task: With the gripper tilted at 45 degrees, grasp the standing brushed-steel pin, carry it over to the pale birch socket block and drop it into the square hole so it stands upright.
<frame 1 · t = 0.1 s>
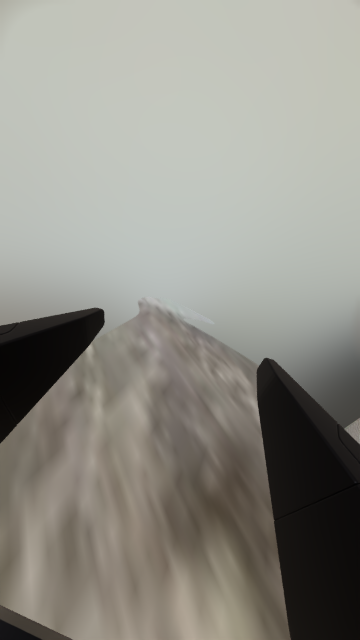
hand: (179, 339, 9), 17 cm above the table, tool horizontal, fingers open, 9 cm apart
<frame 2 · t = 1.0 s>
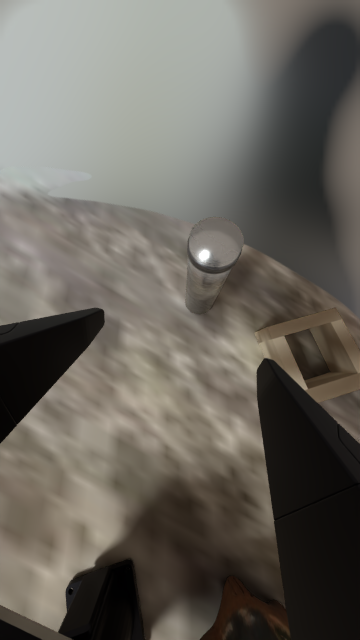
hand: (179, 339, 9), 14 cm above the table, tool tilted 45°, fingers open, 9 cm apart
decorative turtle: (251, 628, 16), on the table
socket block: (299, 355, 22), on the table
steel pin: (198, 301, 24), on the table
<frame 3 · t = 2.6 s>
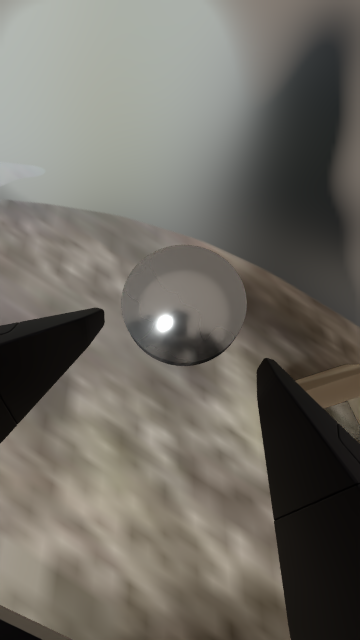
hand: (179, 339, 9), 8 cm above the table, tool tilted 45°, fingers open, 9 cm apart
socket block: (326, 427, 15), on the table
steel pin: (182, 344, 17), on the table
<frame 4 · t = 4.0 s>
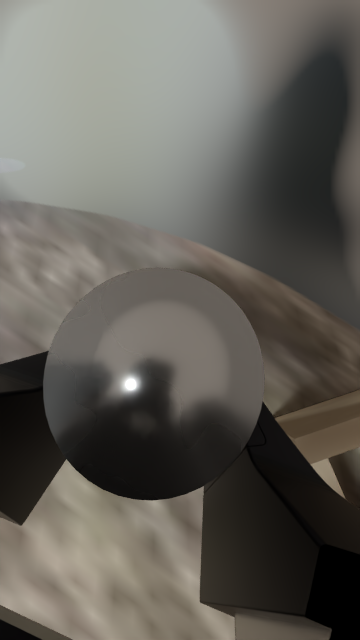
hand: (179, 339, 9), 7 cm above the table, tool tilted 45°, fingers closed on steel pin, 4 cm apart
socket block: (343, 464, 13), on the table
steel pin: (175, 363, 15), on the table, touching gripper
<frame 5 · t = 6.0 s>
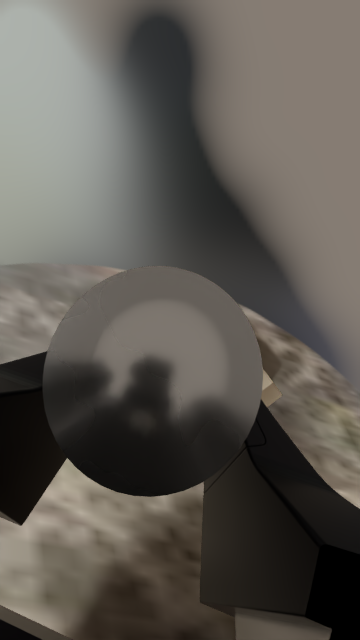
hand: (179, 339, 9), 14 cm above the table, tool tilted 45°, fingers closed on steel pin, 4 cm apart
socket block: (215, 379, 21), on the table
steel pin: (175, 363, 15), point 7 cm above the table, touching gripper
when the fingers open (8 cm above the table, at t = 8.0 s): steel pin drops 1 cm, resting in socket block.
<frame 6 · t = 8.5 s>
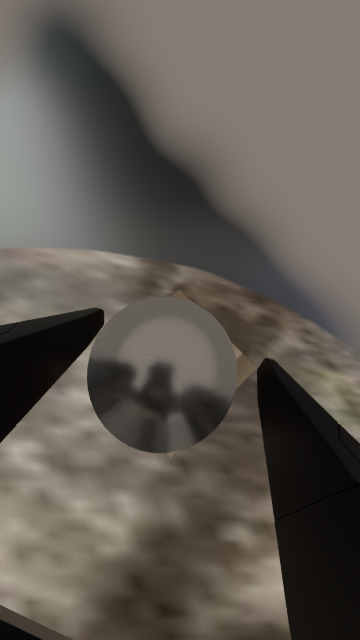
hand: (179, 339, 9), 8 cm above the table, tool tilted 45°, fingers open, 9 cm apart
socket block: (176, 363, 17), on the table
steel pin: (176, 363, 17), resting in socket block
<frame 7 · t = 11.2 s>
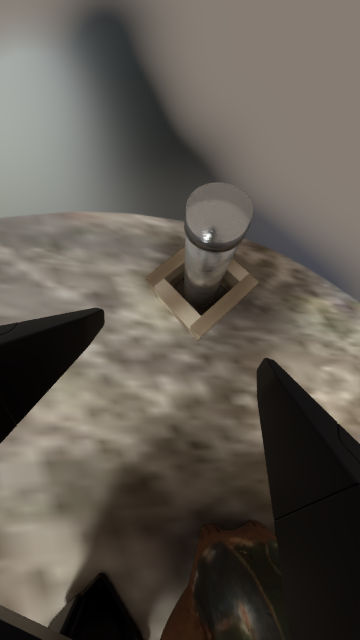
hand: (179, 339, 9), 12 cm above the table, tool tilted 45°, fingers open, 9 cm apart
decorative turtle: (241, 558, 16), on the table
socket block: (198, 292, 22), on the table
steel pin: (198, 292, 22), resting in socket block
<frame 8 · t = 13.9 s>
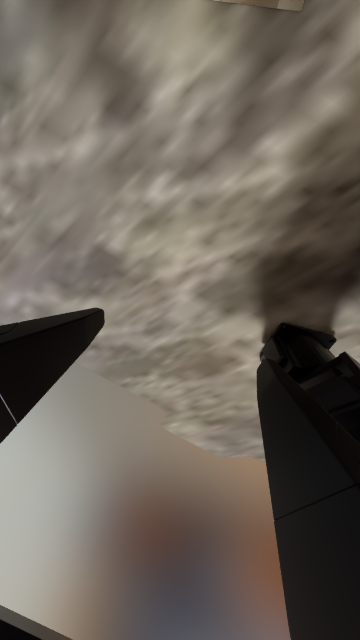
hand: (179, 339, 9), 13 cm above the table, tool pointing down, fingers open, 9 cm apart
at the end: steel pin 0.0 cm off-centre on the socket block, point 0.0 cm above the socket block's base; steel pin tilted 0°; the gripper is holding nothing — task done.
